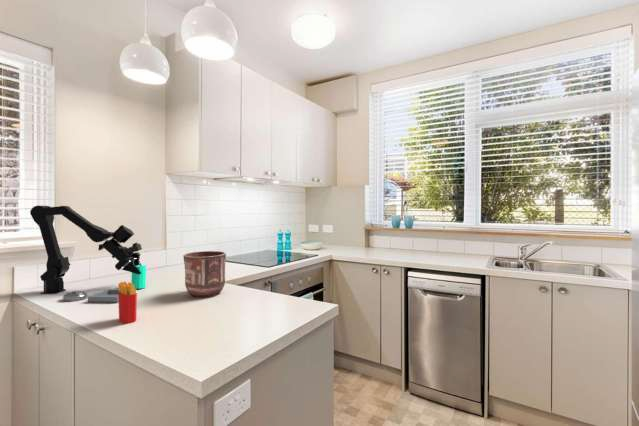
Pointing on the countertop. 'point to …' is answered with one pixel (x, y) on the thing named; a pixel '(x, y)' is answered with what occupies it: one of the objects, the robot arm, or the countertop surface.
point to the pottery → (204, 273)
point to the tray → (104, 296)
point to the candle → (139, 278)
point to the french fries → (127, 302)
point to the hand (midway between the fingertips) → (142, 272)
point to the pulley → (75, 296)
